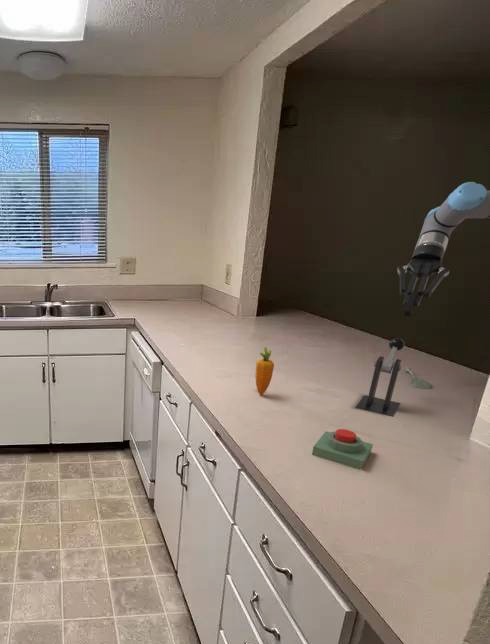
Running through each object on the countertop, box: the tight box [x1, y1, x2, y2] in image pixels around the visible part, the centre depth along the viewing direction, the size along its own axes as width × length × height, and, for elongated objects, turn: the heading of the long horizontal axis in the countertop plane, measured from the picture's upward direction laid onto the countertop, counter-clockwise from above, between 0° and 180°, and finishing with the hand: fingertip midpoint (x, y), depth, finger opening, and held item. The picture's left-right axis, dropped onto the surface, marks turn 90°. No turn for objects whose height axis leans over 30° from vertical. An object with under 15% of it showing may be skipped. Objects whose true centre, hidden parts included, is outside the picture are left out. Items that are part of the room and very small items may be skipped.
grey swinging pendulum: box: [380, 337, 405, 374], centre depth 121 cm, size 13×4×4 cm, turn 138°
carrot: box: [255, 346, 275, 396], centre depth 131 cm, size 5×5×15 cm
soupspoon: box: [404, 366, 433, 390], centre depth 143 cm, size 22×3×7 cm
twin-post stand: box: [354, 355, 402, 418], centre depth 120 cm, size 12×9×15 cm
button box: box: [311, 430, 374, 470], centre depth 100 cm, size 10×10×4 cm
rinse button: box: [335, 428, 357, 443], centre depth 99 cm, size 4×4×2 cm
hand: (407, 313), depth 127 cm, fingers closed
